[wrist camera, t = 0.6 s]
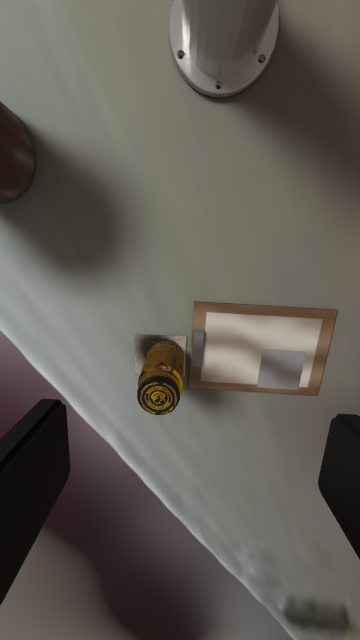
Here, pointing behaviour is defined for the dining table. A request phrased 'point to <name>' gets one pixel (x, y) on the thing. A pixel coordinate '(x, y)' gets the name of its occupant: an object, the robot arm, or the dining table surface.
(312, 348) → the clipboard
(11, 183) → the plant pot
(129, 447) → the dining table surface
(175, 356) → the condiment
